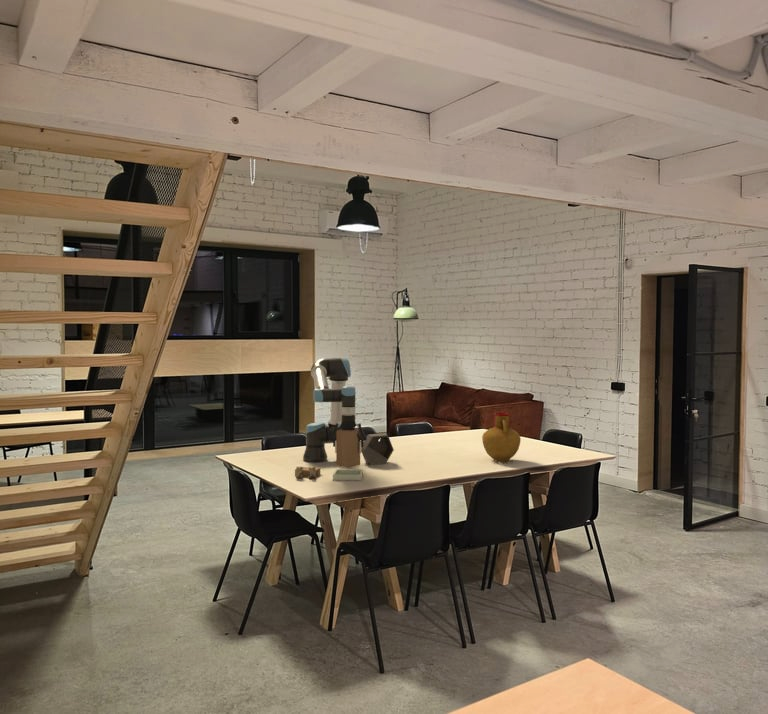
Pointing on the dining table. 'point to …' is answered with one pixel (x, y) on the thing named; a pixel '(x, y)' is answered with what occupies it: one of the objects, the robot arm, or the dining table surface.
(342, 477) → the tray
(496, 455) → the vase
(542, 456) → the dining table surface
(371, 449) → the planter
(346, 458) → the block
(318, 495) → the dining table surface
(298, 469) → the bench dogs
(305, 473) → the wooden book-shaped slab
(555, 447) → the dining table surface
